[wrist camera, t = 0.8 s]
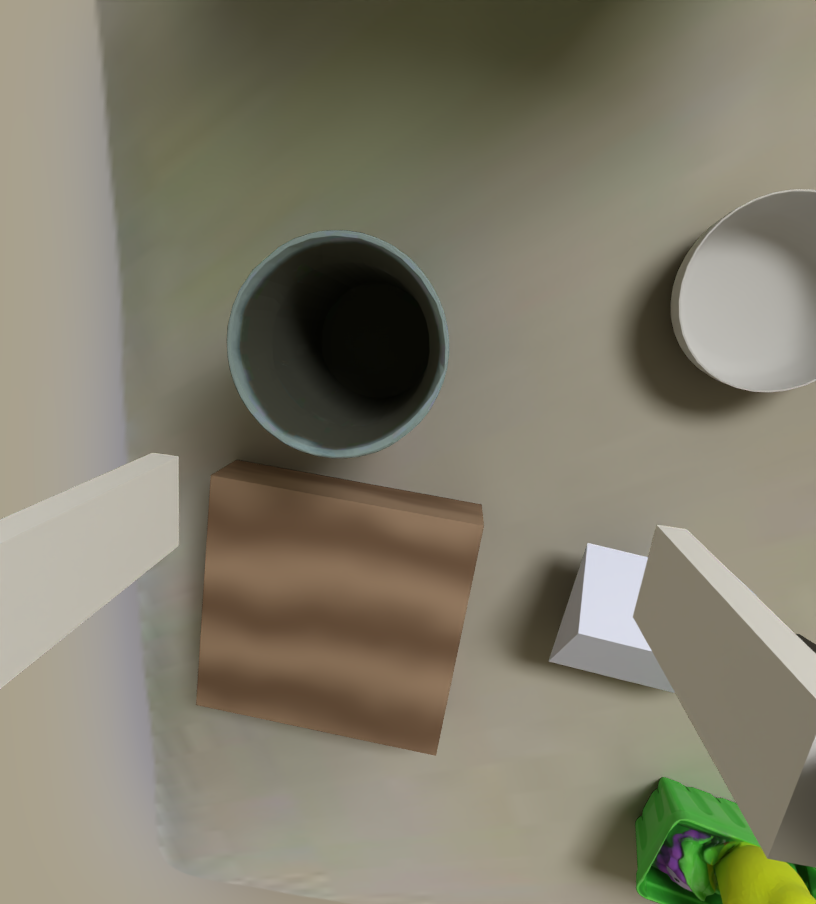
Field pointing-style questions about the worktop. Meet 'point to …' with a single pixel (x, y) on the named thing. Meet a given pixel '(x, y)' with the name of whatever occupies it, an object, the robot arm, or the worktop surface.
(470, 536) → the walnut stand
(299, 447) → the grey cup
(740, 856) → the fruit basket
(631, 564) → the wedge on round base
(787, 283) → the small pan
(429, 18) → the worktop surface
